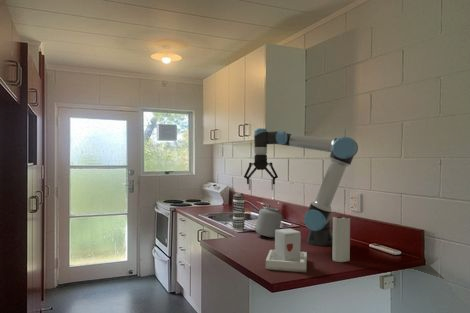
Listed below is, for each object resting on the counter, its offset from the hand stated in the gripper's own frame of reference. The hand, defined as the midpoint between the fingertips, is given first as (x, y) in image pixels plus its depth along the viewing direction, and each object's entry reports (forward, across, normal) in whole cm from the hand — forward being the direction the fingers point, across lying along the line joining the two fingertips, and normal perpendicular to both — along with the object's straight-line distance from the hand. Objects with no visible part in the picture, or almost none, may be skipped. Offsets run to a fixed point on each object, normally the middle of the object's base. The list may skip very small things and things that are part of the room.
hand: (260, 189), depth 202 cm
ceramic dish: (+32, -16, +40) cm, 54 cm away
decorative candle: (+30, +19, -33) cm, 48 cm away
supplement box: (+31, -16, +40) cm, 53 cm away
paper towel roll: (+32, -42, +29) cm, 60 cm away
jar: (+31, -4, -15) cm, 34 cm away
